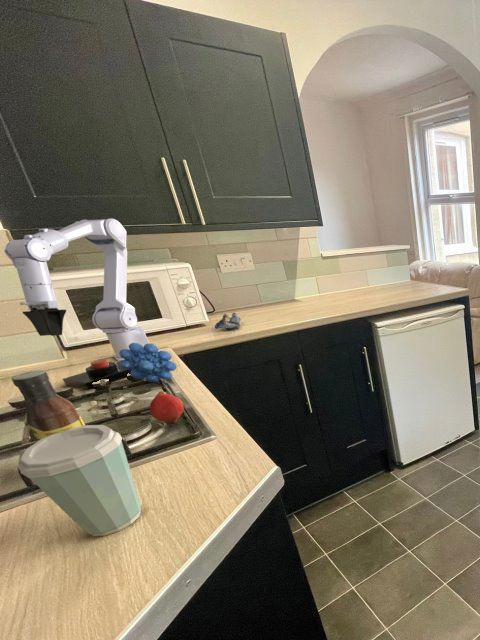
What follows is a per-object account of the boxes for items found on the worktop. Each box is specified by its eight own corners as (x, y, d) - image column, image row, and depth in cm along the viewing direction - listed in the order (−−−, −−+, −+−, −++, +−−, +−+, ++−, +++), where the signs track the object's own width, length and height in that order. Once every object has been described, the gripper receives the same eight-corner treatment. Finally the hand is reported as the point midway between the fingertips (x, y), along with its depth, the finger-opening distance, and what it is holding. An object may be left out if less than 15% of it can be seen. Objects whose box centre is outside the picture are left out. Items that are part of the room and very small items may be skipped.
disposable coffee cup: (163, 519, 65) (122, 436, 59) (68, 562, 58) (10, 472, 52) (149, 492, 72) (111, 414, 65) (62, 527, 64) (10, 444, 58)
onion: (152, 430, 92) (137, 398, 89) (164, 419, 97) (150, 387, 94) (182, 426, 93) (169, 394, 90) (192, 414, 98) (180, 383, 95)
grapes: (125, 392, 112) (106, 350, 107) (132, 384, 118) (114, 343, 113) (178, 383, 117) (161, 342, 112) (182, 375, 123) (167, 335, 118)
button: (104, 364, 123) (102, 358, 123) (112, 365, 122) (109, 359, 121) (90, 368, 120) (87, 363, 120) (97, 370, 119) (94, 364, 118)
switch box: (122, 368, 130) (117, 356, 129) (144, 371, 127) (139, 359, 125) (66, 386, 119) (59, 373, 117) (89, 390, 115) (82, 377, 113)
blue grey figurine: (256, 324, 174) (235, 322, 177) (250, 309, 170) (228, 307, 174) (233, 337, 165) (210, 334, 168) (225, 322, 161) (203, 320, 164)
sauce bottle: (72, 465, 80) (18, 369, 72) (112, 457, 82) (63, 363, 74) (52, 484, 75) (-9, 383, 67) (95, 476, 77) (41, 376, 69)
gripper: (6, 287, 114) (20, 336, 117) (25, 283, 107) (40, 336, 110) (42, 287, 120) (55, 334, 123) (63, 284, 113) (76, 334, 116)
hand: (50, 335), depth 117 cm, fingers open, 7 cm apart
